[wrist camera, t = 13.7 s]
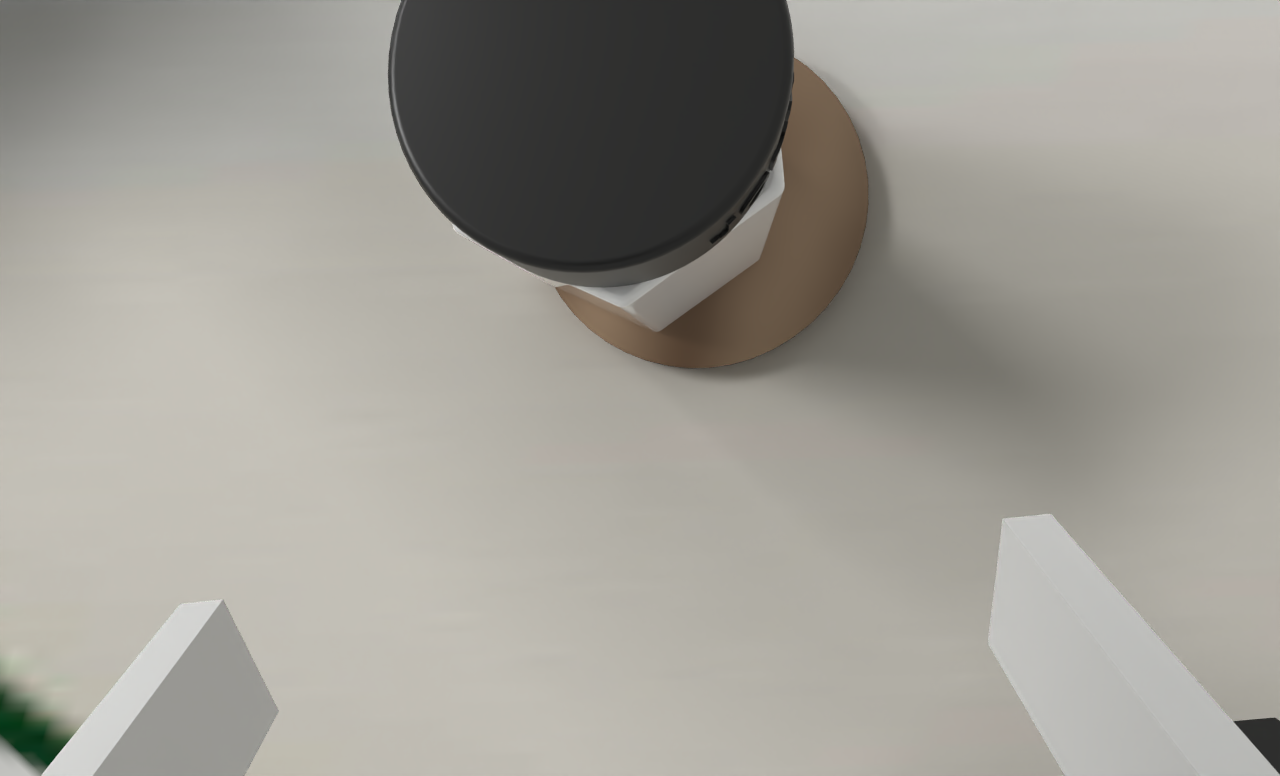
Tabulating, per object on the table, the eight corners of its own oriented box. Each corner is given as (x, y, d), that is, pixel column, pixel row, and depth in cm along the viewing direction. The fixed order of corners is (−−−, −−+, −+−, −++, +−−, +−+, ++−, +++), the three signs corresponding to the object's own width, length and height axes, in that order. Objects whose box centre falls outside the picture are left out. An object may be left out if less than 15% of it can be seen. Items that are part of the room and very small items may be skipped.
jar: (772, 320, 25) (820, 269, 13) (548, 343, 26) (406, 315, 14) (749, 69, 25) (776, -209, 13) (525, 100, 26) (363, -133, 14)
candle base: (553, 381, 27) (546, 381, 26) (526, 67, 27) (519, 55, 26) (875, 353, 26) (882, 352, 25) (848, 23, 26) (854, 9, 25)
